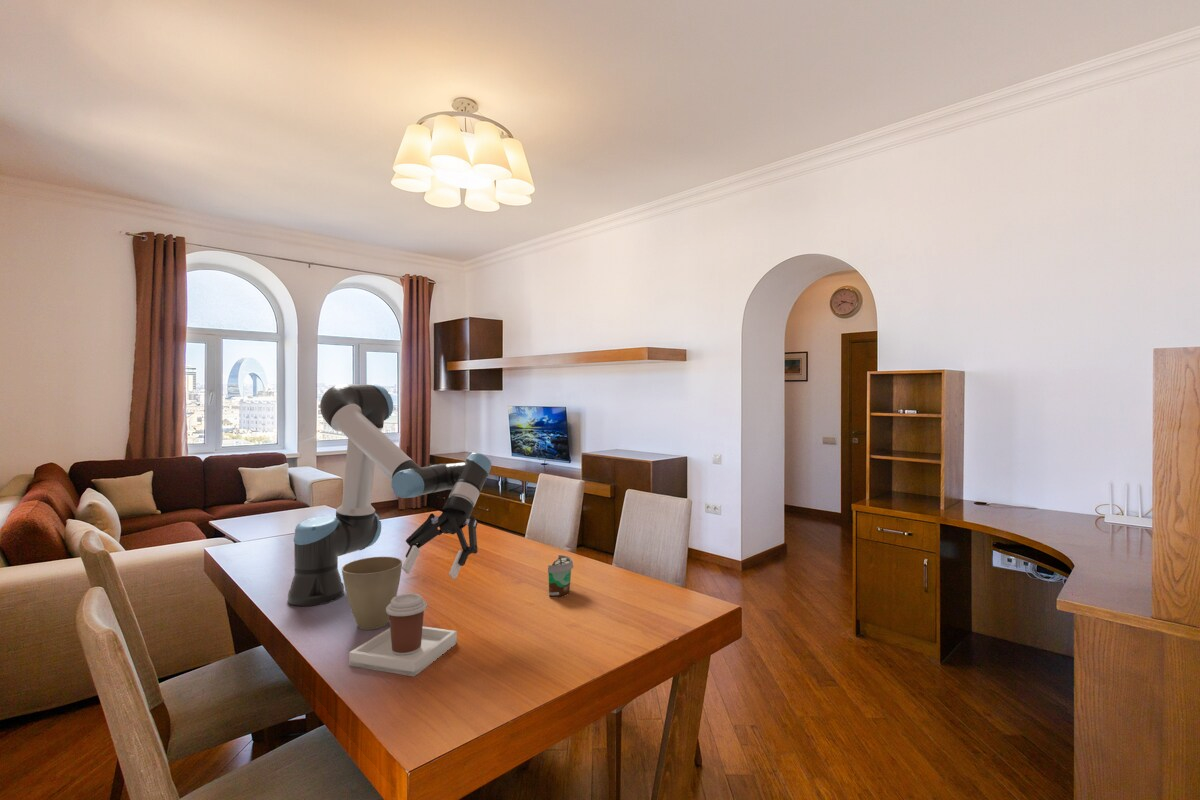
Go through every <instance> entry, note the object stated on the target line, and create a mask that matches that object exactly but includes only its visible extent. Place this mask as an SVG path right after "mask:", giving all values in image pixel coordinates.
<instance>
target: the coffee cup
mask: <svg viewBox="0 0 1200 800" xmlns="http://www.w3.org/2000/svg"><path fill="white" fill-rule="evenodd" d="M427 608H428V604H427V601H425V600H424V599H423V596H422V595H421V594H419V593H401V594H399V595H398V594H397V595H396V597H394V598H392V600H391V603H390V604H389V605H388V606H387V607H386V613H387V614H389V626H390V627H389V628H390V631H391V642H392V653H393V654H395V655H399V656H406V655H411V654H414V653H416V652H418V651H419V650H420V649H421V639H422V627H423V626H424V614H425V611H426V609H427Z"/></svg>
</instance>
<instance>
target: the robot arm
mask: <svg viewBox="0 0 1200 800" xmlns="http://www.w3.org/2000/svg"><path fill="white" fill-rule="evenodd" d="M393 401H394V400H393V398H392V396H391V394H390V393H389V391H388V390H387V389H386V388H384V387H383V386H380V385H376V384H358V383H357V384H355V383H354V384H352V383H351V384H348V383H347V384H346V383H341V384H336V385H334V386H332V387H330V388H328V389H327V390H326V391H325V392H324V393H323V394H322V397H321V399H320V405H319V408H320V413H321V416H322V418H323V419H324V421H325V422H326V424H327V425H328V426H329V427H331V429H333V431H335V432H341V433H342V434H343V435H344V436H345V437H346V438H347V446H346V448H347V449H346V456H345V457H346V458H345V469H344V480H343V491H342V500H341V501H342V502H341V505H339V506H338V507H337V508H336V509H335V516H334V515H320V516H314V517H310V518H307V519H305V520H302V521H300V522H299V523H298V524H297V525H296V526H295V528H294V536H293V543H294V546H293V547H294V574H293V575H294V576H293V578H292V580H291V581H292V582H291V585H290V588H289V590H288V592H287V603H288V604H289V605H293V606H297V607H305V606H307V607H310V606H318V605H323V604H327V603H330V602H333V601H336V600H338V599H340V598H342V597H343V595H344V594H345V586H344V582H343V581H342V578H341V575H340V572H339V567H338V563H339V562H338V559H339V557H340V556H343V555H347V554H351V553H354V552H357V551H362V550H365V549H366V548H368V547H371V546H373V545H374V544H375V543H376V542H377V541H378V540H379V538H380V536H381V533H382V522H381V520H380V517H379V515H378V514H377V513H376V508H374V507H373V505H372V496H373V485H374V473H375V465H376V466H377V467H378V468H379V469H380V470H381V471H382V472H383V473H384V474H385V475H386V476H388V477H389V479H390V480H391V483H390V485H391V489H392V491H393V493H394V495H396V496H397V497H398V498H401V499H409V498H410V499H411V498H416V497H420V496H425V495H428V494H432V493H437V492H442V491H447V490H450V493H449V494H448V498H447V499H446V501H445V504H444V506H443V508H442V511H441V514H440V515H439V516H438V515H435V514H434V513H430V514H429V515H428V517H427V518H426V520H425V521H424V522H423V523H422V524H420V526H419V527H418V528H417V529H416V530H414V532H412V533H411V535H409V536H408V537H407V538H406V540H405V543H407V545H408V546H409V548H408V551H407V552H406V554H405V558H406V559H405V561H404V562H403V564H402V568H401V570H403V571H404V572H405V573H406V574H410V572H411V571H412V568H413V566H414V565H415V561H416V560H417V558H418V556H419V554H420V552H421V550H420V548H421V547H423V546H424V545H426V544H427V543H428V542H430V541H431V540H433V539H434V538H436V537H437V536H441V535H442V534H444V535H445V534H446V535H449V534H450V535H455V534H456V535H457V538H458V541H459V543H460V546H461V549H459V550H458V552H457V554H456V556H455V557H454V558H455V559H454V561H453V563H452V565H451V567H450V569H449V572H448V575H449V576H450V578H452V580H456V579H457V576H458V575H459V573H460V570H461V567H464V566H465V564H466V562H467V560H468V558H469V556H470V555H471V554H477V553H478V550H479V549H478V538H477V528H478V521H477V520H476V518H475V517H474V516H471V515H472V513H473V511H474V507H475V506H476V504H477V501H478V498H479V496H480V494H481V492H482V490H483V487H484V485H485V483H486V482H487V479H488V477H489V475H490V471H491V469H492V468H491V467H492V461H491V460H490V459H489V457H488V456H486V455H485V454H483V453H479V452H472V453H471V454H469V455H468V456H467V458H466V459H465V461H463V462H461V461H460V462H455V463H454V462H453V463H438V464H436V463H435V464H433V465H430V466H423V467H421V466H420V465H418V463H416V462H415V461H414V460H413V459H412V458H411V457H409V456H408V455H407V453H405V452H404V451H403V450H402V449H401V448H400V447H399V446H398V445H397V444H396V443H394V441H392V440H391V439H390V438H389V437H388V436H387V435H386V434H385V433H384V432H382V431H381V430H383V429H384V422H385V421H386V420H388V419H389V418H390V417H391V416H392V415H393V411H394V402H393ZM466 526H467V528H468V530H467V531H468V540H469V541H467V539H466V537H465V534H464V532H463V529H464V528H465V527H466ZM468 542H469V545H468Z"/></svg>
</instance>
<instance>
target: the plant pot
mask: <svg viewBox="0 0 1200 800" xmlns="http://www.w3.org/2000/svg"><path fill="white" fill-rule="evenodd" d="M402 567H403V560H402V559H400V558H398V557H394V556H374V557H366V558H360V559H357V560H353V561H350V562H348V563H346V564H344V565H343V566H342V567H341V573H342V580H343V585H344V591H345V593H346V597H347V601H348V604H349V607H350V610H351V613H352V615H353V617H354V620H355V623H356V625H357V626H358V628H359V629H361V630H366V631H367V630H369V631H370V630H371V629H372V630H376V629H380V628H383V627H385V626H386V625H387V624H388V623H389V622H390V619H389V614H387V613H386V607H387V606H388V605H389V604H390V603H391V600H392V598H394V597H396V596H398V591H399V586H400V581H401V576H402V575H401V574H402Z"/></svg>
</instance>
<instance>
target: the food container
mask: <svg viewBox="0 0 1200 800" xmlns="http://www.w3.org/2000/svg"><path fill="white" fill-rule="evenodd" d="M547 566H548V567H547V574H548V596H549V597H558V598H563V597H566V596H568V595H569V594H570V593H569V592H570V590H571V580H572V579H571V577H572V576H571V575H572V569H574V563H573V560H572V558H571V557H569V556H567V555H562V554H558V558H557V559H556V560H555V561H553V563H552V564H551V565H549V564H548V565H547ZM567 594H568V595H567ZM565 595H566V596H565ZM562 596H563V597H562ZM549 597H548V598H549Z"/></svg>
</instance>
